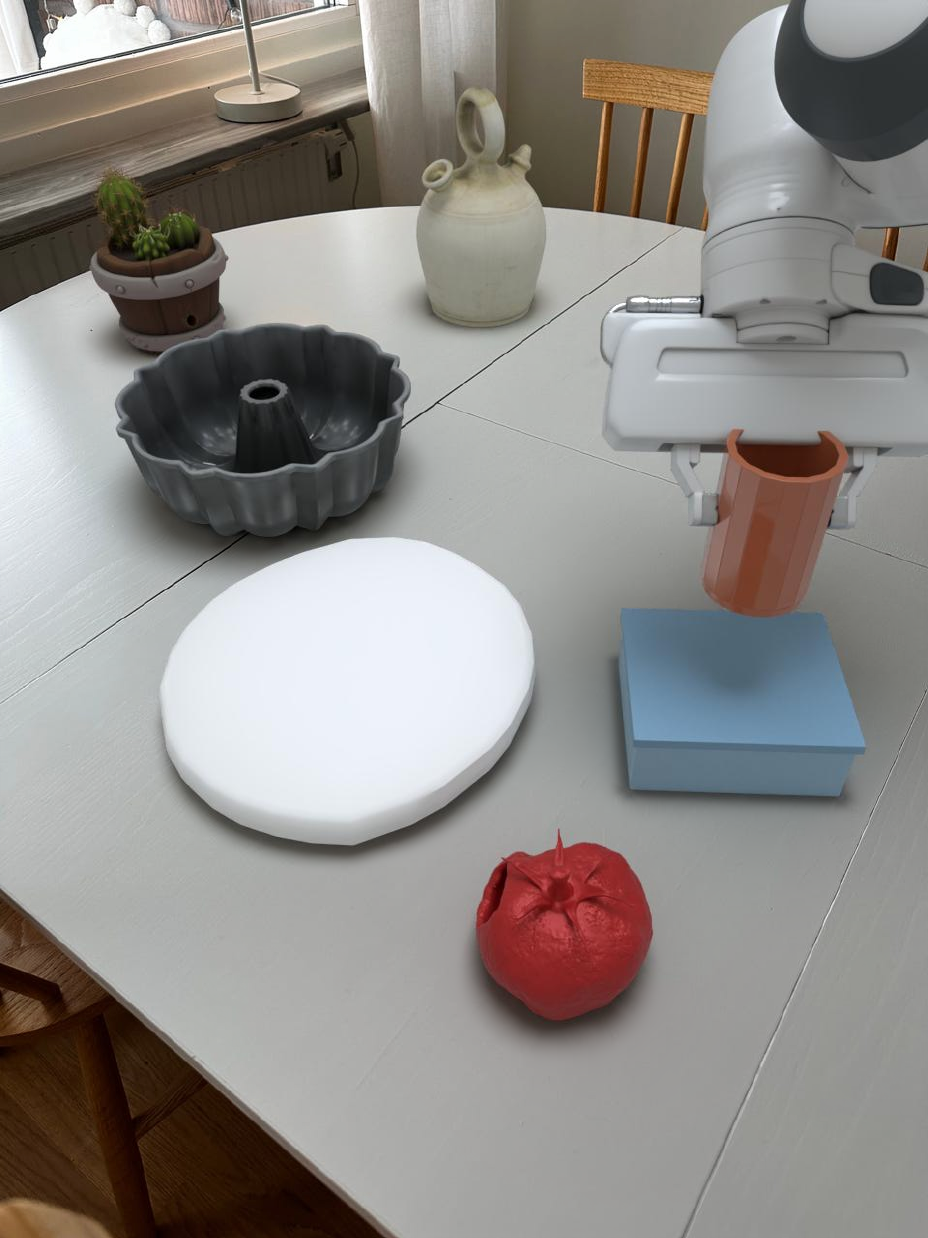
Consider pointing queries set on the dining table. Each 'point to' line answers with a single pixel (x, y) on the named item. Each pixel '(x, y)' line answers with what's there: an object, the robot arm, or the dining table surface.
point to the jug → (480, 225)
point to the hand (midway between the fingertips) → (771, 527)
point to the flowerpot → (156, 269)
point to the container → (735, 703)
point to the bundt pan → (266, 426)
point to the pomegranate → (564, 928)
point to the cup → (770, 523)
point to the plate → (347, 689)
